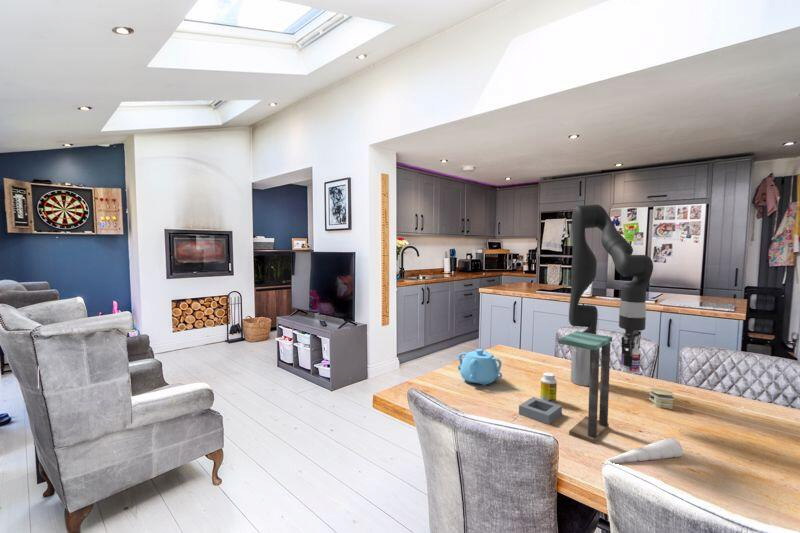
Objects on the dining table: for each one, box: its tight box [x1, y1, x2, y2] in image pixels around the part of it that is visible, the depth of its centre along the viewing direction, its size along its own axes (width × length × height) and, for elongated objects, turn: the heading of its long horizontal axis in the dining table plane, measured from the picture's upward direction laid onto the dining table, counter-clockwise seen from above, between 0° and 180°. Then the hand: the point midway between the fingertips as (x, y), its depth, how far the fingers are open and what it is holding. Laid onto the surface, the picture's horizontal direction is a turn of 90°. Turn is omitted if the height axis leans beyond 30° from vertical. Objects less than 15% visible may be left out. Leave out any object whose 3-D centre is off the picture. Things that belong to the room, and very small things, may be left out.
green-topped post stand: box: [557, 330, 613, 444], centre depth 117 cm, size 15×11×29 cm
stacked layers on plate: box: [648, 387, 675, 410], centre depth 135 cm, size 10×9×6 cm
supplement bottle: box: [539, 372, 558, 404], centre depth 139 cm, size 6×6×10 cm
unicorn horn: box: [602, 437, 684, 464], centre depth 102 cm, size 5×24×5 cm, turn 98°
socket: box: [518, 396, 563, 425], centre depth 128 cm, size 10×10×3 cm
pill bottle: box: [620, 343, 641, 374], centre depth 125 cm, size 5×5×10 cm
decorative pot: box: [457, 348, 503, 386], centre depth 160 cm, size 16×16×14 cm
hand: (630, 363), depth 125 cm, fingers closed on pill bottle, 5 cm apart
